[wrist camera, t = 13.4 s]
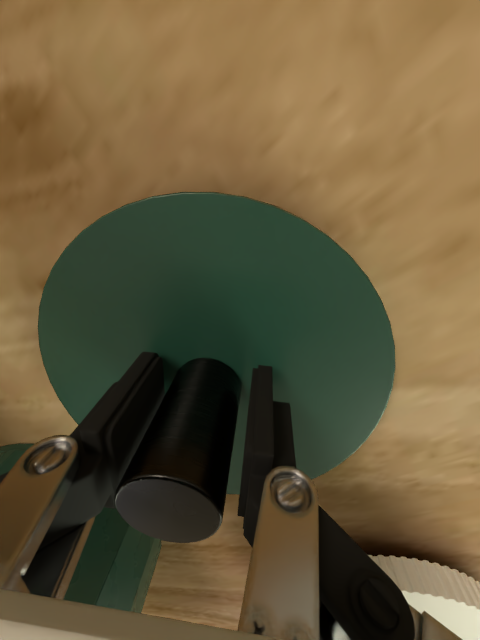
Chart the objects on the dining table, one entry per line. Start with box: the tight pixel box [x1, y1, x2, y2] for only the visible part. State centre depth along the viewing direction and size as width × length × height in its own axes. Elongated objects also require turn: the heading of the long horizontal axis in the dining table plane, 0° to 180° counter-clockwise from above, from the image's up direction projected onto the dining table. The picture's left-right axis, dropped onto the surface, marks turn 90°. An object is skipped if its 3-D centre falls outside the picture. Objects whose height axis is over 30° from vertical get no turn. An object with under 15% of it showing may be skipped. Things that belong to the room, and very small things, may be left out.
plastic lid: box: [368, 555, 480, 640], centre depth 18 cm, size 14×14×2 cm
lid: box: [38, 192, 395, 543], centre depth 9 cm, size 15×15×6 cm
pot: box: [0, 444, 162, 613], centre depth 15 cm, size 14×14×8 cm
